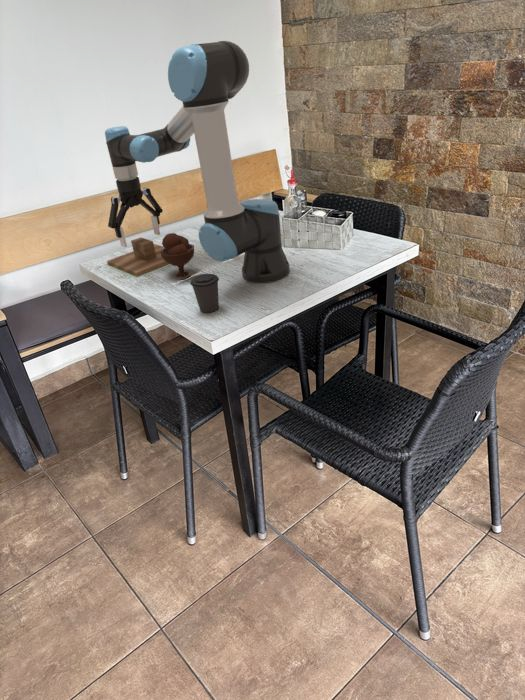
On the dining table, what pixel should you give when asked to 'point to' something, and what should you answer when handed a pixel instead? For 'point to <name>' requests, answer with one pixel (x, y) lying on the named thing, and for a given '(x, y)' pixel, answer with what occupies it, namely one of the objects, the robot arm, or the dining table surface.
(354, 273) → the dining table surface
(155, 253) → the walnut cover
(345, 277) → the dining table surface
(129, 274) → the green mat
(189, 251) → the ice cream bowl
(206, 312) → the coffee cup
